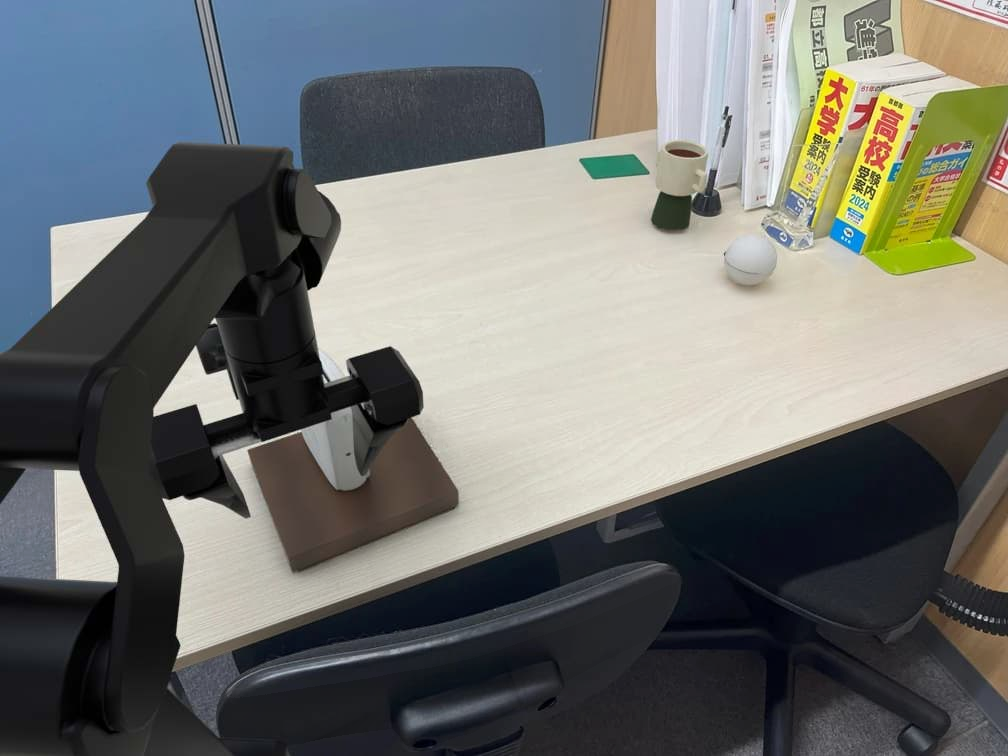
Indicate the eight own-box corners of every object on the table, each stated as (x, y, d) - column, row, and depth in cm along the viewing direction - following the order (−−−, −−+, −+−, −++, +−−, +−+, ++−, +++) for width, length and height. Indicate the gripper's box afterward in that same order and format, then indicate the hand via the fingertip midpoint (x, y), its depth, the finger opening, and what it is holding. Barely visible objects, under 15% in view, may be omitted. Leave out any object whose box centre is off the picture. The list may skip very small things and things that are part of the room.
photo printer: (377, 481, 71) (365, 389, 63) (336, 499, 69) (319, 406, 61) (335, 419, 77) (319, 328, 69) (297, 434, 75) (276, 342, 67)
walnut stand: (292, 574, 65) (288, 558, 64) (251, 465, 75) (246, 449, 73) (459, 506, 72) (458, 490, 70) (401, 414, 81) (399, 398, 80)
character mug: (708, 234, 115) (727, 158, 106) (674, 245, 112) (691, 167, 104) (664, 206, 122) (679, 132, 113) (631, 215, 119) (644, 140, 110)
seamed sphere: (749, 264, 109) (762, 221, 104) (779, 290, 103) (795, 246, 99) (693, 275, 106) (704, 231, 101) (722, 302, 100) (734, 258, 96)
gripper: (363, 245, 55) (379, 394, 65) (97, 307, 47) (163, 464, 58) (421, 323, 47) (430, 477, 58) (118, 410, 40) (190, 569, 50)
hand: (306, 492), depth 56 cm, fingers open, 9 cm apart
